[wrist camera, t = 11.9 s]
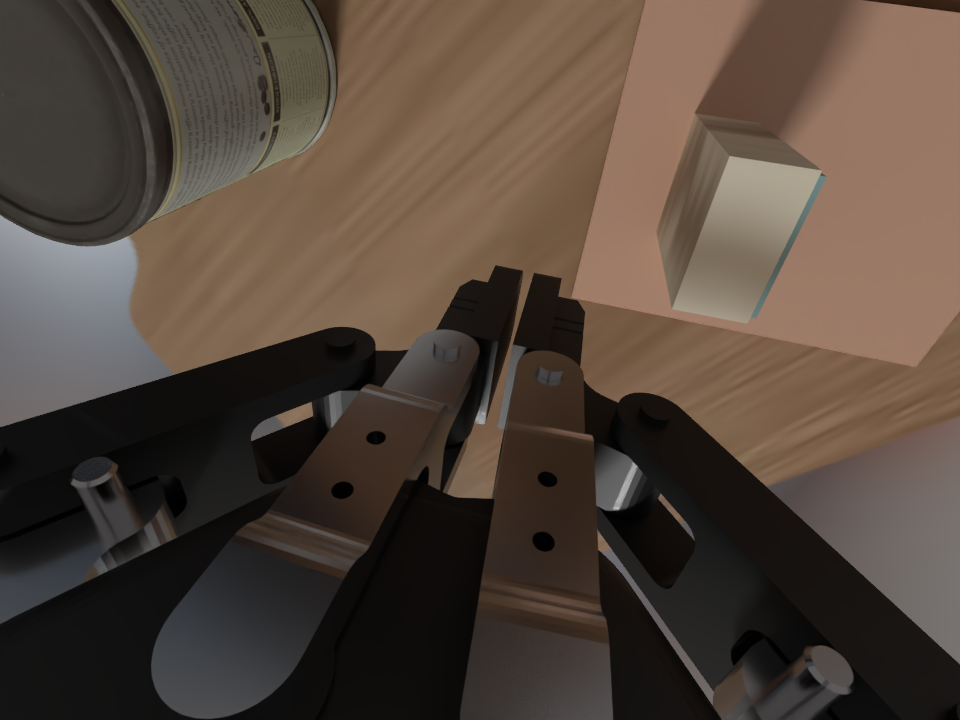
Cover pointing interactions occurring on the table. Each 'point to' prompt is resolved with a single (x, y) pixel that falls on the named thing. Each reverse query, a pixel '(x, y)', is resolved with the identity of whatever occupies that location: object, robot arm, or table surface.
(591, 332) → the table surface
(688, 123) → the mat
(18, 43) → the coffee can
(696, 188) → the beige rectangular block
